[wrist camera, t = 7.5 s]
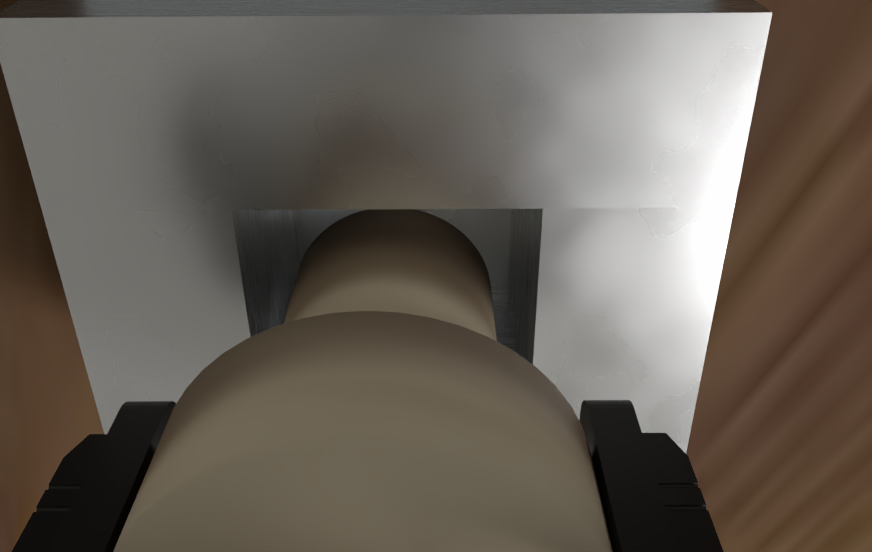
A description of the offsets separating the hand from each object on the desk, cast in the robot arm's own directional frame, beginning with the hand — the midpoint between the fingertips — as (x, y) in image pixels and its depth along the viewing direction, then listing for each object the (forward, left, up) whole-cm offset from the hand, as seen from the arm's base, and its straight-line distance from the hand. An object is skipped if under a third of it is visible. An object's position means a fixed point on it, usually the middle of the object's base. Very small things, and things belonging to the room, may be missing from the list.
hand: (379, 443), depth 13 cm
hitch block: (0, 0, -10) cm, 10 cm away
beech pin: (0, 0, -5) cm, 5 cm away
